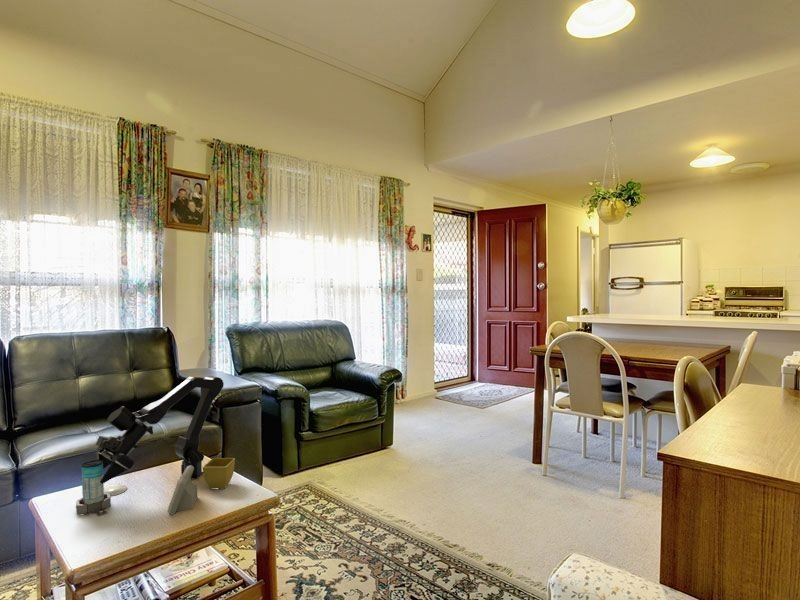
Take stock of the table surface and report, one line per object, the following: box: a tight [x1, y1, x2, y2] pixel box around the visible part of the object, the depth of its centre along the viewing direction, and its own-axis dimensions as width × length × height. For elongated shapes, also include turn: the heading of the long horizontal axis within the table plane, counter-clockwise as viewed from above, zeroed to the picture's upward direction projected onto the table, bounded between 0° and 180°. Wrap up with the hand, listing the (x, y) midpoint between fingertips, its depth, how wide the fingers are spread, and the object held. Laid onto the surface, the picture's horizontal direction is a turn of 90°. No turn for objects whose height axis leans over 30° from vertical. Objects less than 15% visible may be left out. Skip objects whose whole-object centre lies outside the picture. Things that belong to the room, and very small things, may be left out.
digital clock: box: [167, 465, 198, 515], centre depth 158 cm, size 16×9×11 cm, turn 1°
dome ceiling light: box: [104, 483, 128, 497], centre depth 170 cm, size 9×9×1 cm
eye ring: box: [75, 493, 112, 517], centre depth 156 cm, size 15×10×3 cm
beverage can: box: [81, 459, 105, 505], centre depth 156 cm, size 6×6×15 cm
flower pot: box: [202, 457, 236, 489], centre depth 172 cm, size 9×9×9 cm
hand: (95, 479), depth 157 cm, fingers open, 9 cm apart
